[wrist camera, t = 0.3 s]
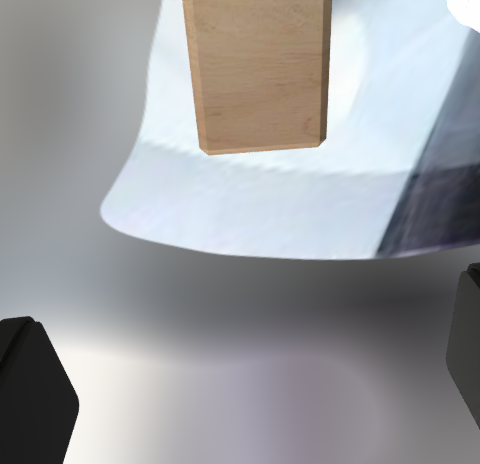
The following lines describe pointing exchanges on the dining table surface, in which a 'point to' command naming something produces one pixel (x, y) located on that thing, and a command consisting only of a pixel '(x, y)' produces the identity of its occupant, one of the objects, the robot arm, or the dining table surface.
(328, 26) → the decorative block
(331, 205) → the dining table surface
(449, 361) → the robot arm
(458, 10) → the white cup
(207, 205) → the dining table surface
